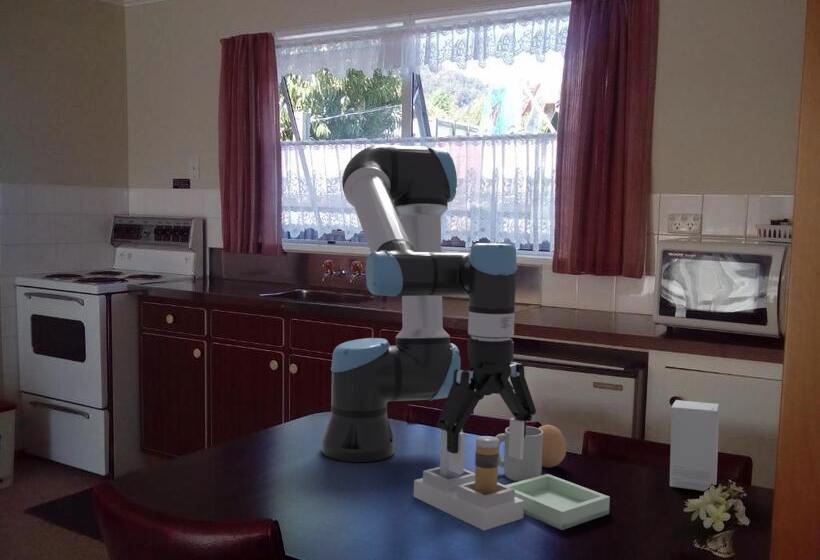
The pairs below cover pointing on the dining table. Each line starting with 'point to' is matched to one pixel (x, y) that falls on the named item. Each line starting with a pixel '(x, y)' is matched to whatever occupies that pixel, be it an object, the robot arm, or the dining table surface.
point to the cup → (531, 455)
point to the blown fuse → (486, 464)
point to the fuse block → (466, 495)
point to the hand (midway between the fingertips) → (486, 464)
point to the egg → (552, 446)
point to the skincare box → (694, 445)
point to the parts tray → (560, 501)
